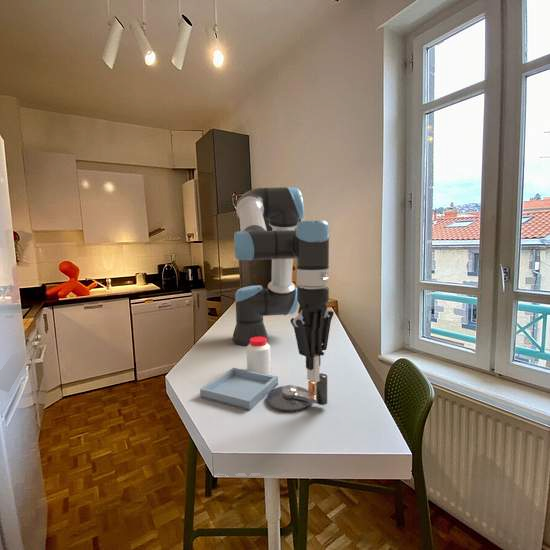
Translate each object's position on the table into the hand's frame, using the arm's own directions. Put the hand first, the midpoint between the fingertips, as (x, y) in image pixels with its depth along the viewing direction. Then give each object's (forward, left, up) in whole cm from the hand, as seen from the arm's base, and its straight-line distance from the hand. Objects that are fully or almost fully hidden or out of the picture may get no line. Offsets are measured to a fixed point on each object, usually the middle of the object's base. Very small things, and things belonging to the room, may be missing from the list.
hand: (313, 380), depth 78 cm
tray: (-23, +1, -8) cm, 24 cm away
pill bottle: (-25, +15, -8) cm, 30 cm away
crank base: (-8, +2, -8) cm, 11 cm away
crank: (-3, +2, -7) cm, 8 cm away
